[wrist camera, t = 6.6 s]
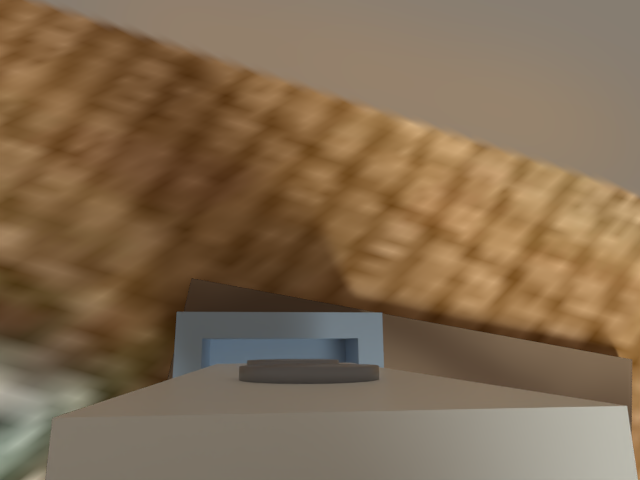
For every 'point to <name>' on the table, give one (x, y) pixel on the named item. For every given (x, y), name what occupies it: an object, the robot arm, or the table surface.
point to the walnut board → (452, 349)
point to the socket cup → (275, 338)
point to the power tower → (338, 429)
